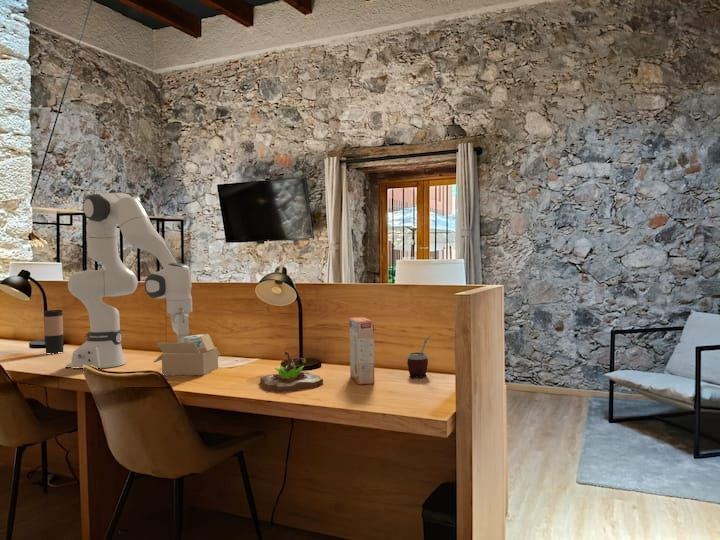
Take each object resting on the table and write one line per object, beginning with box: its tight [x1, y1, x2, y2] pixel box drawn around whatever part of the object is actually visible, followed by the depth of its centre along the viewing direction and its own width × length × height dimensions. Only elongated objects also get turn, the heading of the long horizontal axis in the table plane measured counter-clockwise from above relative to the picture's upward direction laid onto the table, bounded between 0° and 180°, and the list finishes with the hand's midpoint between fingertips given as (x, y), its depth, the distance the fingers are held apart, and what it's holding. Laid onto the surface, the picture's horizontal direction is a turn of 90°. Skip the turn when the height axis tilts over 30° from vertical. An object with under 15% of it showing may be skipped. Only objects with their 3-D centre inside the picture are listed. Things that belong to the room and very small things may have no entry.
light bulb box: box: [184, 333, 211, 347], centre depth 232 cm, size 11×7×11 cm, turn 143°
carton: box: [153, 346, 221, 377], centre depth 214 cm, size 21×19×8 cm
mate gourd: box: [407, 334, 434, 379], centre depth 193 cm, size 8×8×15 cm
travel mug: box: [43, 309, 64, 353], centre depth 263 cm, size 8×8×20 cm
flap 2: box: [200, 333, 216, 351], centre depth 210 cm, size 1×7×6 cm, turn 172°
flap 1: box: [156, 342, 200, 353], centre depth 202 cm, size 14×1×6 cm
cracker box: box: [349, 316, 376, 385], centre depth 190 cm, size 14×6×21 cm, turn 12°
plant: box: [259, 350, 324, 393], centre depth 187 cm, size 20×20×11 cm
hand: (180, 345), depth 203 cm, fingers closed
